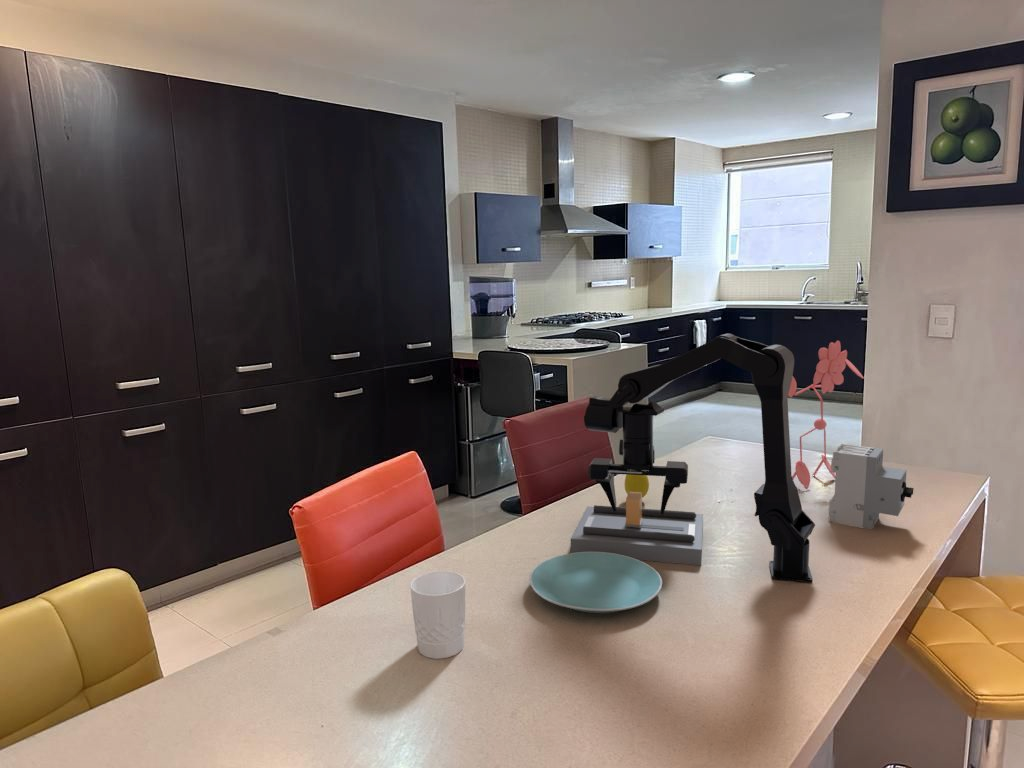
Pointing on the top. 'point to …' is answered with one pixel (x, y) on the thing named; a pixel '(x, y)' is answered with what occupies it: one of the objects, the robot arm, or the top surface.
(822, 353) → the figurine
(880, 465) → the circuit breaker
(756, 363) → the robot arm
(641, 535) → the grey slider track
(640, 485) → the lemon
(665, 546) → the panel
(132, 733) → the top surface
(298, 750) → the top surface
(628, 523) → the breaker handle
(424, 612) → the white cup
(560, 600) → the plate
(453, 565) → the top surface
